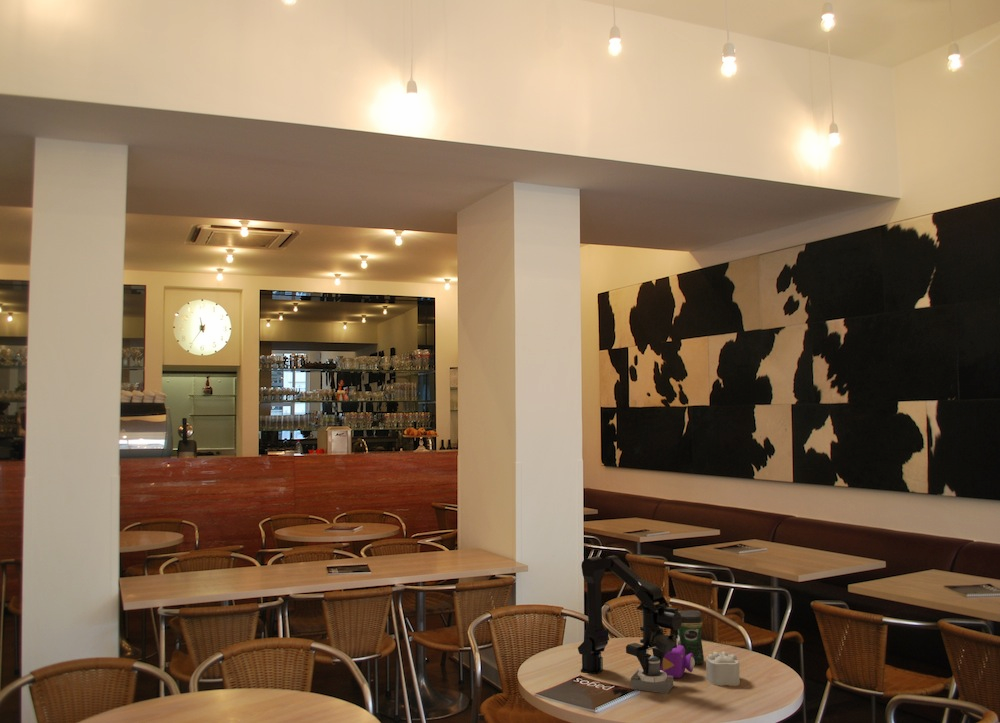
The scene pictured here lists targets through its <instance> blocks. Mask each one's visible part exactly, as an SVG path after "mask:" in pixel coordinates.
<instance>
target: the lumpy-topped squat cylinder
mask: <svg viewBox="0 0 1000 723" xmlns="http://www.w3.org/2000/svg"><path fill="white" fill-rule="evenodd" d="M737 657H738V656H737V655H736V654H735V653H731V654H729V653H728V652H726V651H724V650H722V651H721V652H719V651H716V650H715V651H714V652H713V653H709V654H708V655H706V657H705V664H706V665H705V668H706V672H705V673H706V681H709V682H710V683H709V682H708V683H709V684H710V685H713V686H717V685H719V686H718V687H721V686H722V687H723V685H729V687H731V686H733V687H735V686H739V685H740V684H741V683H740V682H741V681H740V680H741V679H740V661H739V659H738V658H737Z"/></svg>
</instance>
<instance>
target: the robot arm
mask: <svg viewBox="0 0 1000 723" xmlns="http://www.w3.org/2000/svg"><path fill="white" fill-rule="evenodd" d="M580 566H581V572H582V576H583V578H584V580H585V582H586V590H587V591H586V593H587V594H586V595H587V621H588V622H587V626H586V629H585V631H584V634H583V641H582V643H581V644H580V645H578V647H577V651H578V654H579V655H581V669H580V672H583V673H590V674H600V672H601V671H603V669H604V663H603V662H604V657H603V656H602V652H605V649H606V647H607V645H608V643H609V641H610V638H609V632H610V631H609V629H608V628H606V627H605V626H604V624H603V604H602V603H603V602H602V581H603V579H604V577H605V572H606V569H609V570H610V571H611V572H613V574H614V575H616V576H617V577H618V578H619V579H620V580H622V581H623V582H624V583H625V584H626V585H627V586H628V587H630V588H631V589H632V590H633V593H634V595H635V597H636V598H637V599H638V601H640V604H639V605H638V606H637V607H636V610H637V611H642V612H641V613H642V626H640V627H639V631H642V638H641V639H639V642H640V643H641V644H640V643H637V642H632V643H628V644H627V645H626V646H625V654H628V655H631V656H634V657H635V658H637V660H638V661H639V664H640V667H641V669H643V670H644V673H645V674H648V663H649V658H650V656H657V657H659V658H660V667H661V664H662V661H663V658H664V655H665V654H666V653H667V652H669V651H670V652H671V651H672V649H673V648H677V643H678V637H677V635H675V634H674V633H673V634H669V635H667V634H666V635H665V633H664V630H663V629H668V630H673V631H678V629H679V628H680V627H681V624H682V618H681V615H680V613H679V612H678V611H679V608H677V607H670V605H669V603H668V601H667V600H666V598H665V596H664V594H663V590H662V589H661V588H660V587H659V585H656V584H655V583H653V582H651V581H649V580H646V579H644V578H642V577H641V576H639V574H637V573H636V572H635V571H634V570H632V569H631V568H630V567H629V566H628V565H627V564H625V562H623V560H621V559H620V558H619V556H617V555H609V556H606V557H603V558H602V557H601V556H598V555H597V556H593V557H588V558H585V559H583V560H582V561H581V565H580ZM649 650H651V651H652V654H653V655H652V654H649Z"/></svg>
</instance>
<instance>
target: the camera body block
mask: <svg viewBox="0 0 1000 723" xmlns="http://www.w3.org/2000/svg"><path fill="white" fill-rule="evenodd" d="M673 687H674V678H673V676H669V675H667V673H666V672H664V671H662V670H660V676H655V677H653V676H645V673H644V670H643V668H638V669H637V670H636V671H635V673H634V674H633V675H632V676H631V677H630V689H631V690H636V689H639V690H638V691H645V692H654V693H661V694H665V695H667V694H669V692H670V691H671V689H672V688H673Z"/></svg>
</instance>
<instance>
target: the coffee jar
mask: <svg viewBox="0 0 1000 723" xmlns="http://www.w3.org/2000/svg"><path fill="white" fill-rule="evenodd" d="M678 612H679V613H680V615H681V618H682V624H681V627H680V628H679V629H678V630H677V645H682V646H684V648H685V656H687V655H688V654H690V653H692V654H693V658H694V661H695V664H697V665H702V664H703V663H704V662H705V657H704V650H703V649H704V648H703V642H702V627H703V624H704V623H703V616H702V613H701V612H700V611H699V610H692V609H691V610H690V609H689V610H678Z"/></svg>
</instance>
